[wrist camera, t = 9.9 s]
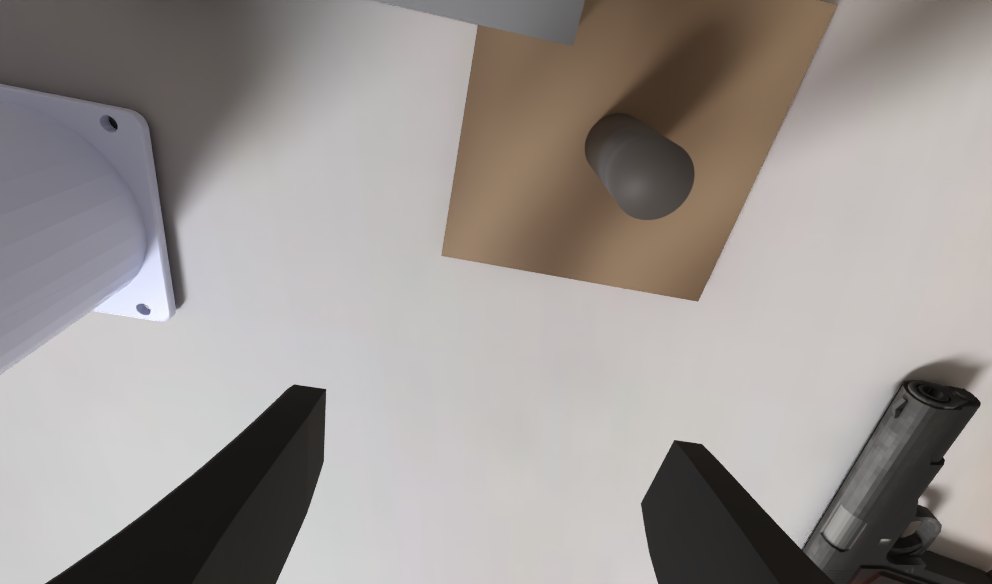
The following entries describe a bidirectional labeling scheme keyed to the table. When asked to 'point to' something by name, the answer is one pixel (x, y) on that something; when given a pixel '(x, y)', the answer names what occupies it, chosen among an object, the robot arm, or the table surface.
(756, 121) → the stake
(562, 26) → the tray
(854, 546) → the handgun
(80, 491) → the table surface
